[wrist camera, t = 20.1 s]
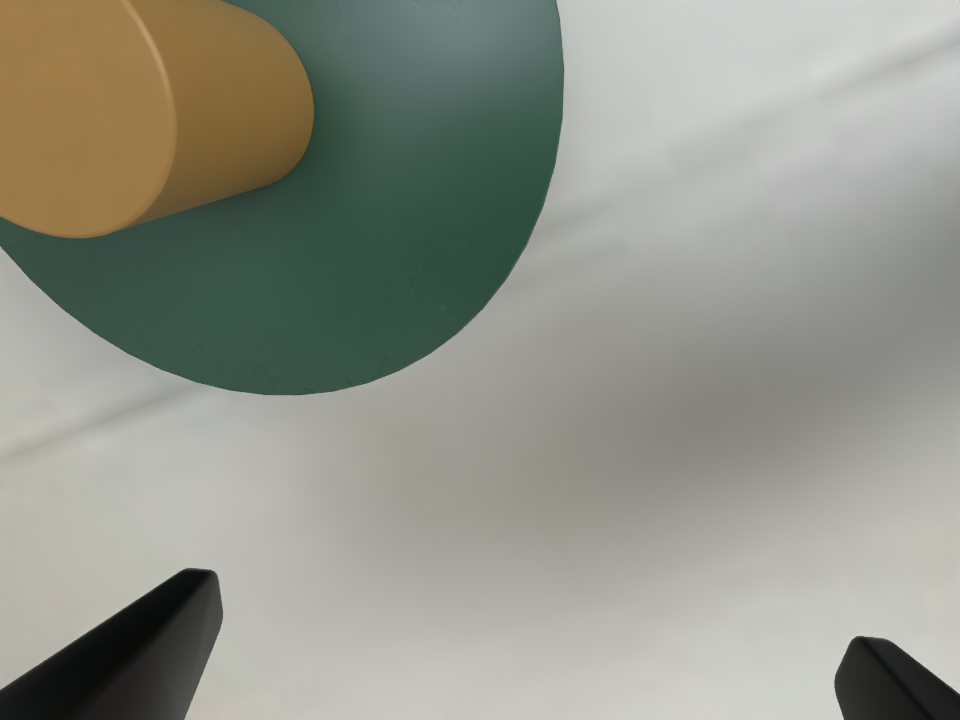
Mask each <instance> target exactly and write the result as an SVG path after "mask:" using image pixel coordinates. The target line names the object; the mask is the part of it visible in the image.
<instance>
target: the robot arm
mask: <svg viewBox="0 0 960 720" xmlns="http://www.w3.org/2000/svg"><path fill="white" fill-rule="evenodd" d="M222 619H223V608H222V601H221V594H220V587H219V580H218V576H217V574H216V573H215V572H214V571H212V570H207V569H197V568H186V569H184V570H182V571H180V572H178V573H177V574H175V575H174V576H172V577H171V578H169V579H168V580H166V581H165V582H163V583H162V584H160V585H159V586H157V587H156V588H154V589H153V590H151V591H150V592H148V593H147V594H145V595H144V596H142V597H141V598H139V599H137V600H136V601H134V602H133V603H131V604H130V605H128V606H127V607H125V608H124V609H122V610H121V611H119V612H118V613H116V614H115V615H113V616H112V617H110V618H109V619H107V620H106V621H104V622H103V623H101V624H100V625H98V626H97V627H95V628H94V629H92V630H91V631H89V632H87V633H86V634H84V635H83V636H81V637H80V638H78V639H77V640H75V641H74V642H72V643H71V644H69V645H68V646H66V647H65V648H63V649H62V650H60V651H59V652H57V653H56V654H54V655H53V656H51V657H50V658H48V659H47V660H45V661H44V662H42V663H40V664H39V665H37V666H36V667H34V668H33V669H31V670H30V671H28V672H27V673H25V674H24V675H22V676H21V677H19V678H18V679H16V680H15V681H13V682H12V683H10V684H9V685H7V686H6V687H4V688H3V689H1V690H0V720H184V719H185V716H186V714H187V711H188V709H189V706H190V704H191V701H192V699H193V696H194V694H195V691H196V689H197V686H198V684H199V681H200V679H201V676H202V674H203V671H204V669H205V666H206V664H207V661H208V659H209V656H210V654H211V651H212V649H213V646H214V644H215V641H216V638H217V636H218V633H219V631H220V628H221V624H222ZM834 683H835V692H836V696H837V699H838V703H839V706H840V709H841V712H842V715H843V718H844V720H960V694H959V693H957V692H956V691H955V690H954V689H952V688H951V687H950V686H948V685H947V684H946V683H945V682H943V681H942V680H941V679H939V678H938V677H937V676H935V675H934V674H933V673H932V672H930V671H929V670H928V669H926V668H925V667H924V666H923V665H921V664H920V663H919V662H917V661H916V660H915V659H914V658H912V657H911V656H910V655H908V654H907V653H906V652H904V651H903V650H902V649H901V648H899V647H898V646H897V645H895V644H894V643H893V642H891V641H889V640H886V639H883V638H874V637H864V636H858V637H855V638H854V639H853V640H852V641H851V642H850V644H849V646H848V648H847V651H846V653H845V655H844V657H843V659H842V662H841V664H840V666H839V668H838V670H837V672H836V675H835V681H834Z"/></svg>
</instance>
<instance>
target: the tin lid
mask: <svg viewBox="0 0 960 720" xmlns="http://www.w3.org/2000/svg"><path fill="white" fill-rule="evenodd" d="M563 87H564V63H563V51H562V39H561V27H560V18H559V13H558V8H557V3H556V0H0V246H1V247H2V248H3V250H4V251H5V252H6V253H7V254H8V255H9V256H10V257H11V258H12V260H13V261H14V262H15V263H16V264H17V265H18V266H19V267H20V268H21V270H22V271H23V272H24V273H25V274H26V275H27V276H28V277H29V278H30V280H31V281H33V282H34V283H35V284H36V285H37V286H38V287H39V288H40V289H41V290H42V291H43V292H45V293H46V294H47V295H48V296H49V297H50V298H51V299H52V300H53V301H54V302H55V303H56V304H58V305H59V306H60V307H61V308H62V309H63V310H65V311H66V312H67V313H69V314H70V315H71V316H73V317H74V318H75V319H77V320H78V321H79V322H80V323H82V324H83V325H84V326H86V327H87V328H88V329H90V330H91V331H92V332H94V333H95V334H97V335H99V336H100V337H102V338H103V339H105V340H107V341H108V342H110V343H112V344H113V345H115V346H116V347H118V348H120V349H121V350H123V351H125V352H126V353H128V354H130V355H132V356H134V357H136V358H138V359H140V360H143V361H145V362H147V363H149V364H151V365H153V366H155V367H157V368H159V369H161V370H164V371H167V372H169V373H172V374H175V375H178V376H181V377H183V378H186V379H189V380H192V381H194V382H198V383H202V384H206V385H210V386H214V387H218V388H222V389H227V390H231V391H239V392H247V393H254V394H262V395H306V394H315V393H324V392H333V391H337V390H341V389H346V388H350V387H354V386H358V385H362V384H366V383H369V382H372V381H374V380H377V379H379V378H382V377H385V376H387V375H390V374H392V373H395V372H398V371H400V370H402V369H403V368H405V367H407V366H409V365H411V364H413V363H414V362H416V361H418V360H420V359H422V358H424V357H425V356H427V355H429V354H430V353H432V352H433V351H434V350H436V349H437V348H438V347H440V346H441V345H443V344H444V343H445V342H447V341H448V340H449V339H451V338H452V337H453V336H455V335H456V334H457V333H458V332H459V331H460V330H462V329H463V328H464V327H465V326H466V325H467V324H468V323H469V322H470V321H471V320H472V319H473V318H474V317H475V316H476V315H477V314H478V313H479V312H480V311H481V310H482V309H483V308H484V307H485V306H486V304H487V303H488V302H489V301H490V299H491V298H492V297H493V295H494V294H495V293H496V292H497V290H498V289H499V288H500V287H501V285H502V284H503V283H504V282H505V280H506V279H507V277H508V276H509V274H510V272H511V271H512V269H513V267H514V266H515V264H516V262H517V260H518V259H519V257H520V255H521V254H522V252H523V250H524V249H525V247H526V245H527V243H528V241H529V238H530V236H531V234H532V231H533V229H534V227H535V225H536V222H537V220H538V218H539V215H540V213H541V211H542V208H543V205H544V202H545V198H546V195H547V191H548V188H549V185H550V181H551V178H552V174H553V171H554V167H555V163H556V156H557V150H558V144H559V137H560V131H561V125H562V115H563Z"/></svg>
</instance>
